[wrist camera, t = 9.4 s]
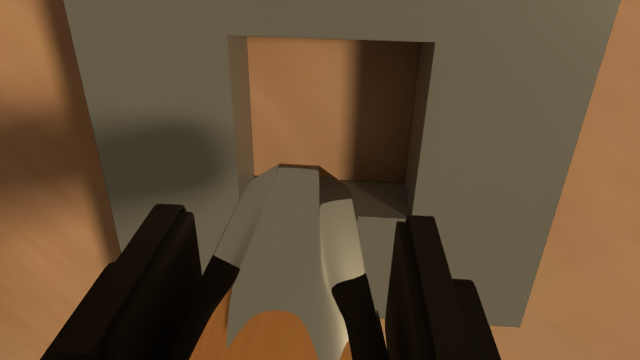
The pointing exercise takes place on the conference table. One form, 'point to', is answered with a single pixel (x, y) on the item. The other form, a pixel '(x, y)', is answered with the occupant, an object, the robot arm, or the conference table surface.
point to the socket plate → (426, 132)
